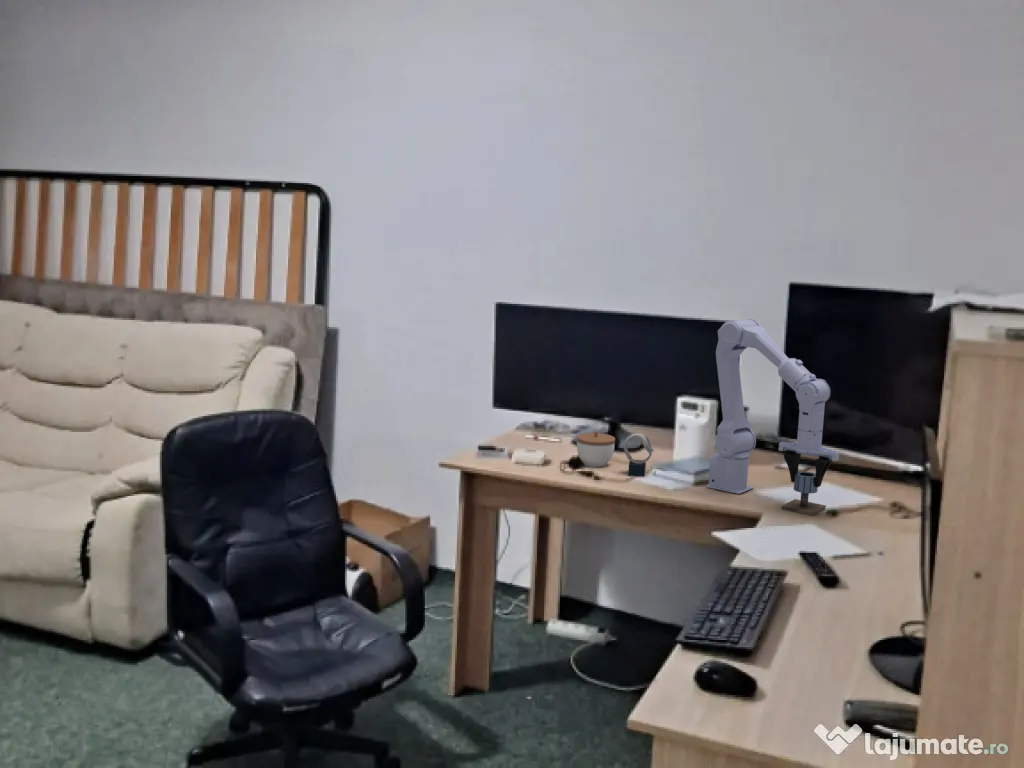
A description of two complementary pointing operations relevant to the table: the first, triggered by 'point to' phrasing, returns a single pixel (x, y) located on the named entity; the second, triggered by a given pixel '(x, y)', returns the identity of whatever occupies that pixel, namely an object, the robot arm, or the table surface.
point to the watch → (638, 465)
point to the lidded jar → (595, 448)
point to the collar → (805, 482)
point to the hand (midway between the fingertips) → (805, 483)
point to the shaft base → (803, 506)
